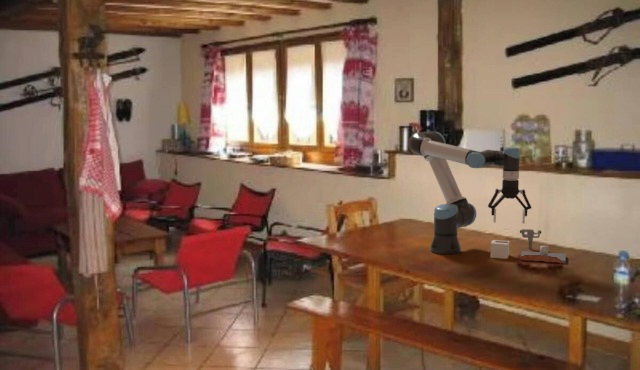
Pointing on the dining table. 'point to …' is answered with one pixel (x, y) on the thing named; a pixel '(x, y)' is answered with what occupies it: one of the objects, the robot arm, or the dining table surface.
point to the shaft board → (561, 256)
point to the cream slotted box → (499, 249)
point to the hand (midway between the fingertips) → (508, 222)
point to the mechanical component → (530, 235)
